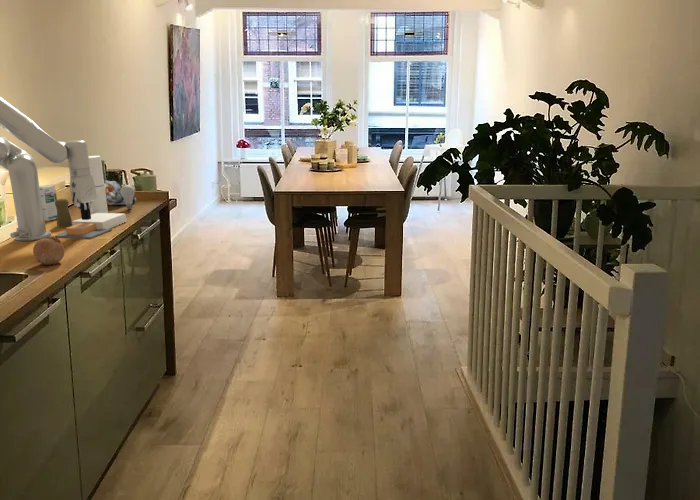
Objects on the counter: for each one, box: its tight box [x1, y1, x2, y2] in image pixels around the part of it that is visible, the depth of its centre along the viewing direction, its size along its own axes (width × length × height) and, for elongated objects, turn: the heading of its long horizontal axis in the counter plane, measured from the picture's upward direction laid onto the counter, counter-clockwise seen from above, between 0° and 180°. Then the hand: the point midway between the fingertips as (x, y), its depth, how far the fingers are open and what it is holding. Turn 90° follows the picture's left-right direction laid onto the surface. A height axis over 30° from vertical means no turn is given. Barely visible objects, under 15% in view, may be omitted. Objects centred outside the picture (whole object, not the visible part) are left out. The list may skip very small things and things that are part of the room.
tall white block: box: [88, 155, 109, 214], centre depth 313 cm, size 7×7×25 cm
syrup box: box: [39, 184, 58, 222], centre depth 308 cm, size 6×6×14 cm
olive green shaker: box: [55, 198, 73, 228], centre depth 295 cm, size 6×6×11 cm
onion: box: [32, 235, 66, 266], centre depth 238 cm, size 10×9×10 cm
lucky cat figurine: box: [104, 179, 137, 206], centre depth 335 cm, size 15×12×14 cm
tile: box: [65, 223, 96, 235], centre depth 280 cm, size 9×7×2 cm
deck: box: [72, 212, 127, 229], centre depth 292 cm, size 16×14×4 cm
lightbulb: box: [120, 184, 136, 210], centre depth 323 cm, size 6×6×11 cm
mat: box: [54, 228, 112, 240], centre depth 280 cm, size 13×16×1 cm
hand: (86, 219), depth 284 cm, fingers closed
